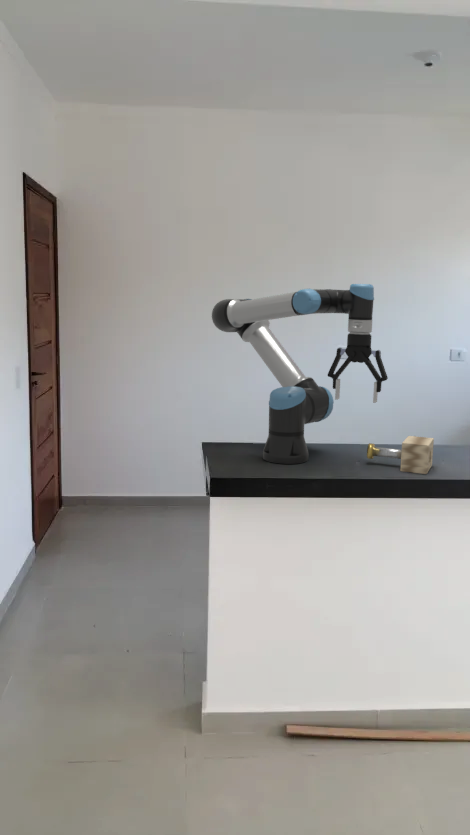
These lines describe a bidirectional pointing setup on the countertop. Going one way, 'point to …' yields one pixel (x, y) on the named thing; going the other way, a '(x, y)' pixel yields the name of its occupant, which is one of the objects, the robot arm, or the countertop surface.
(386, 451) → the pin
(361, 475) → the countertop surface
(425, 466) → the bore block
